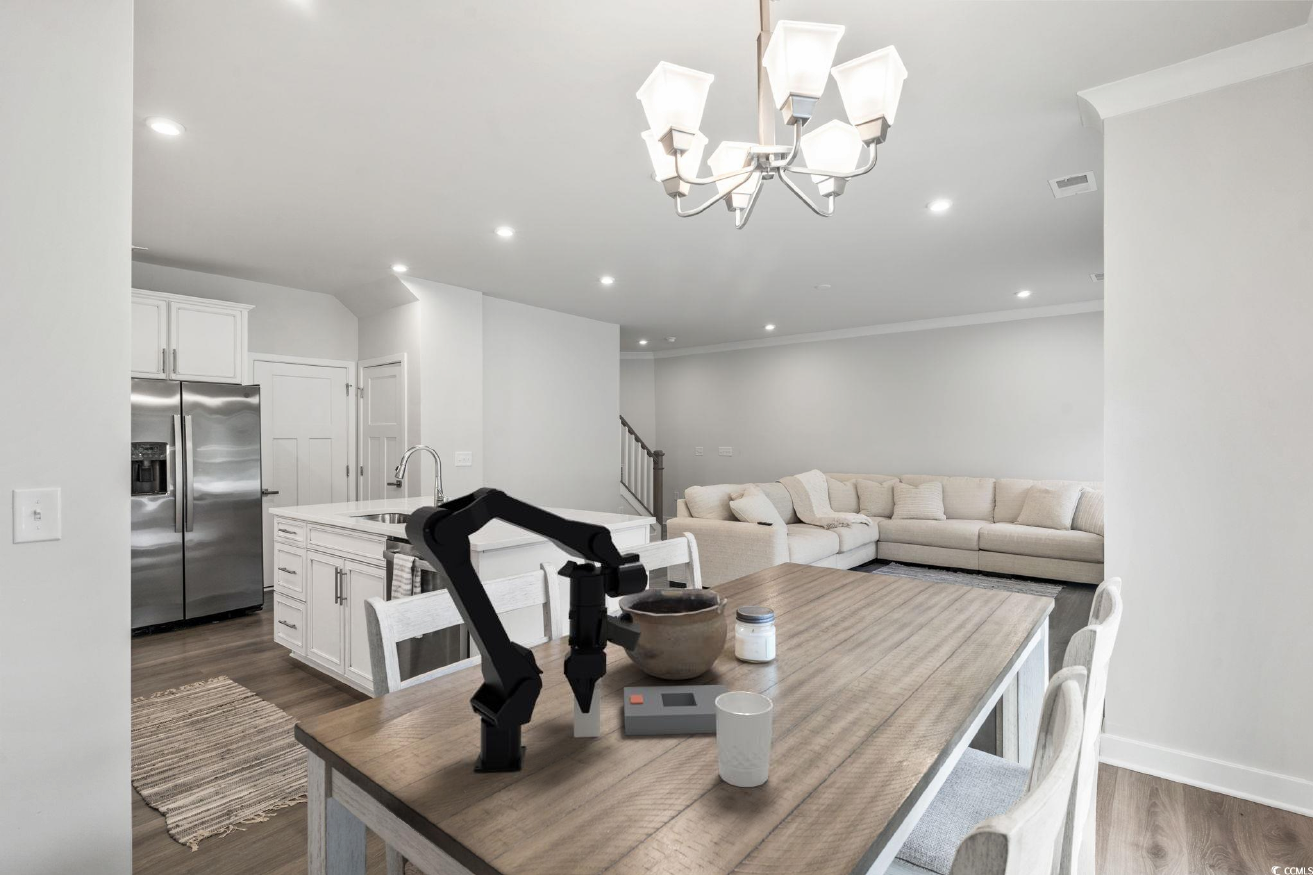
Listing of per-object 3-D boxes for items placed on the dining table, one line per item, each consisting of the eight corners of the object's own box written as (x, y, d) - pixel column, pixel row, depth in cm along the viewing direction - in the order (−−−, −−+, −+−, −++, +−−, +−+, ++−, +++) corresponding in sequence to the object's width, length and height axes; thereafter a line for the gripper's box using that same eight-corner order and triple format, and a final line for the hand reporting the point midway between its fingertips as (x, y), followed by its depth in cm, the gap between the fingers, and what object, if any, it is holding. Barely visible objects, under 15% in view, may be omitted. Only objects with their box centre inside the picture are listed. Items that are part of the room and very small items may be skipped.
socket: (739, 732, 101) (739, 711, 101) (625, 735, 100) (625, 714, 100) (725, 701, 113) (725, 683, 113) (623, 704, 112) (623, 685, 112)
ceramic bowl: (733, 694, 116) (734, 612, 117) (614, 694, 116) (615, 611, 117) (720, 654, 139) (720, 585, 139) (620, 654, 138) (621, 585, 139)
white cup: (734, 755, 94) (734, 687, 94) (783, 773, 89) (783, 700, 89) (703, 777, 87) (703, 703, 88) (753, 797, 82) (753, 719, 83)
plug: (600, 736, 99) (600, 685, 100) (573, 737, 99) (573, 685, 99) (600, 724, 104) (601, 675, 104) (574, 725, 103) (575, 676, 103)
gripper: (641, 617, 93) (640, 725, 93) (635, 588, 112) (635, 678, 111) (563, 618, 92) (562, 727, 92) (571, 589, 111) (570, 679, 110)
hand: (586, 700), depth 101 cm, fingers open, 9 cm apart
